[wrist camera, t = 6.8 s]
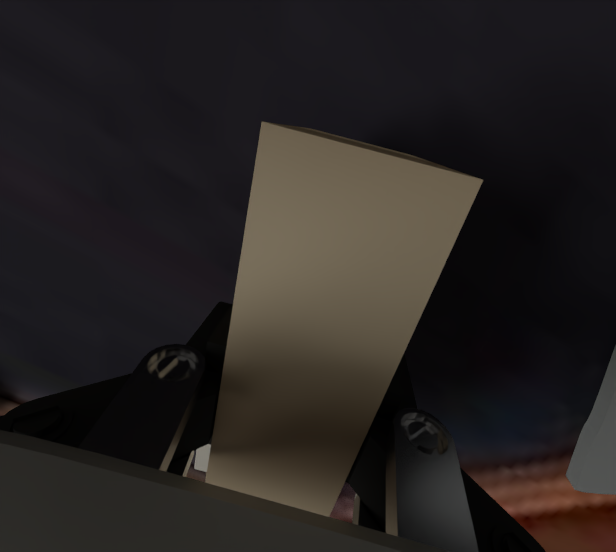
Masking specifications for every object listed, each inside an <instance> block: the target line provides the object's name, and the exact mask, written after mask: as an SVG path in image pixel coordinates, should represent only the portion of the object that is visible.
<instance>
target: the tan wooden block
mask: <svg viewBox="0 0 616 552" xmlns="http://www.w3.org/2000/svg"><path fill="white" fill-rule="evenodd" d="M482 182H483V180H482V179H479V178H476V177H473V176H471V175H468V174H465V173H462V172H459V171H456V170H453V169H450V168H447V167H445V166H442V165H439V164H436V163H433V162H430V161H427V160H424V159H421V158H418V157H416V156H413V155H409V154H406V153H402V152H398V151H394V150H390V149H387V148H383V147H379V146H375V145H371V144H368V143H364V142H360V141H356V140H352V139H349V138H345V137H341V136H337V135H333V134H330V133H326V132H322V131H318V130H314V129H310V128H303V127H296V126H289V125H282V124H275V123H268V122H262V124H261V130H260V137H259V143H258V150H257V156H256V162H255V169H254V175H253V181H252V188H251V194H250V200H249V207H248V213H247V219H246V226H245V232H244V239H243V245H242V251H241V258H240V264H239V270H238V277H237V283H236V289H235V296H234V302H233V308H232V315H231V321H230V327H229V334H228V340H227V347H226V353H225V359H224V366H223V372H222V378H221V385H220V391H219V397H218V404H217V410H216V416H215V423H214V429H213V436H212V442H211V448H210V455H209V461H208V467H207V474H206V480H205V483H209V484H212V485H216V486H220V487H223V488H227V489H230V490H234V491H238V492H241V493H245V494H248V495H252V496H256V497H259V498H263V499H266V500H270V501H274V502H277V503H281V504H284V505H288V506H291V507H295V508H299V509H302V510H306V511H309V512H313V513H316V514H320V515H324V516H327V517H329V515H330V513H331V511H332V509H333V507H334V505H335V502H336V500H337V498H338V496H339V494H340V491H341V489H342V487H343V485H344V483H345V481H346V478H347V476H348V474H349V472H350V470H351V467H352V465H353V463H354V461H355V459H356V457H357V454H358V452H359V450H360V448H361V446H362V443H363V441H364V439H365V437H366V435H367V433H368V430H369V428H370V426H371V424H372V422H373V419H374V417H375V415H376V413H377V411H378V409H379V406H380V404H381V402H382V400H383V398H384V396H385V393H386V391H387V389H388V387H389V385H390V382H391V380H392V378H393V376H394V374H395V372H396V369H397V367H398V365H399V363H400V361H401V358H402V356H403V354H404V352H405V350H406V348H407V345H408V343H409V341H410V339H411V337H412V334H413V332H414V330H415V328H416V326H417V324H418V321H419V319H420V317H421V315H422V313H423V310H424V308H425V306H426V304H427V302H428V300H429V297H430V295H431V293H432V291H433V289H434V286H435V284H436V282H437V280H438V278H439V276H440V273H441V271H442V269H443V267H444V265H445V263H446V260H447V258H448V256H449V254H450V252H451V249H452V247H453V245H454V243H455V241H456V239H457V236H458V234H459V232H460V230H461V228H462V225H463V223H464V221H465V219H466V217H467V215H468V212H469V210H470V208H471V206H472V204H473V201H474V199H475V197H476V195H477V193H478V191H479V188H480V186H481V184H482Z"/></svg>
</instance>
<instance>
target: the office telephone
mask: <svg viewBox="0 0 616 552" xmlns="http://www.w3.org/2000/svg"><path fill="white" fill-rule="evenodd" d="M566 476H567V478H568V480H569V481H570V483H571V484H572V486H573V488H574V489H575V490H578V491H581V492H588V493H598V494H616V345H615V348H614V351H613V354H612V357H611V359H610V362H609V365H608V368H607V371H606V374H605V376H604V379H603V382H602V385H601V388H600V391H599V393H598V396H597V399H596V401H595V404H594V407H593V409H592V412H591V414H590V416H589V418H588V420H587V422H586V423H585V425H584V427H583V429H582V431H581V434H580V436H579V439H578V442H577V445H576V447H575V450H574V453H573V456H572V459H571V461H570V464H569V467H568V470H567V473H566Z"/></svg>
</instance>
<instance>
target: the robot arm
mask: <svg viewBox="0 0 616 552" xmlns="http://www.w3.org/2000/svg"><path fill="white" fill-rule="evenodd" d="M232 308H233V304H228V303H224V302H219V303H218V304H217V305H216V306H215V308H214V309H213V310H212V312H211V313H210V314H209V316H208V317H207V318H206V319H205V321H204V322H203V323H202V325H201V326H200V327H199V328H198V330H197V331H196V332H195V334H194V335H193V336H192V338H191V339H190V340H189V341H188V343H187V344H186V345H181V344H171V345H164V346H161V347H158V348H156V349H154V350H152V351H150V352H149V353H148V354H147V355H146V356H145V357H144V358H143V359H142V360H141V362H140V363H139V364H138V366H137V367H136V369H135V370H134V371H133V373H132V374H128V375H124V376H120V377H117V378H113V379H109V380H105V381H102V382H98V383H94V384H90V385H87V386H83V387H79V388H75V389H72V390H68V391H64V392H60V393H57V394H53V395H49V396H45V397H42V398H38V399H35V400H32V401H29V402H26V403H23V404H21V405H20V406H18V407H16V408H14V409H12V410H11V411H9V412H8V413H7V414H5V415H3V416H0V552H545V550H544V549H543V548H542V546H541V545H540V544H539V543H538V542H537V541H536V540H535V539H534V538H533V537H532V536H531V535H530V534H529V533H528V532H527V531H526V530H525V529H524V528H523V527H522V526H521V525H520V524H519V523H518V522H517V521H516V520H515V519H514V518H512V517H511V516H510V515H509V514H508V513H507V512H506V511H505V510H504V509H503V508H502V507H501V506H500V505H499V504H498V503H497V502H496V501H495V500H494V499H493V498H492V497H490V496H489V495H488V494H487V493H486V492H485V491H484V490H483V489H482V488H481V487H480V486H479V485H478V484H477V483H476V482H475V481H474V480H473V479H472V478H471V477H470V476H468V475H467V474H466V473H465V472H464V471H463V470H462V469H461V468H460V466H459V462H458V457H457V453H456V448H455V444H454V441H453V439H452V436H451V434H450V433H449V431H448V430H447V428H446V427H445V426H444V425H443V424H442V423H441V422H440V421H439V420H438V419H437V418H435V417H434V416H432V415H431V414H429V413H427V412H425V411H423V410H420V409H417V406H416V402H415V397H414V393H413V389H412V385H411V381H410V376H409V372H408V368H407V364H406V360H405V355H404V354H403V356H402V358H401V361H400V363H399V365H398V367H397V369H396V372H395V374H394V376H393V378H392V380H391V382H390V385H389V387H388V389H387V391H386V393H385V396H384V398H383V400H382V402H381V404H380V406H379V409H378V411H377V413H376V415H375V417H374V419H373V422H372V424H371V426H370V428H369V430H368V433H367V435H366V437H365V439H364V441H363V443H362V446H361V448H360V450H359V452H358V454H357V457H356V459H355V461H354V463H353V465H352V467H351V470H350V472H349V474H348V476H347V478H346V481H345V482H347V483H349V484H350V486H351V487H352V488H353V490H354V491H355V492H356V496H355V500H354V510H353V521H352V523H348V522H345V521H341V520H338V519H334V518H331V517H327V516H324V515H320V514H316V513H313V512H309V511H306V510H302V509H299V508H295V507H291V506H288V505H284V504H281V503H277V502H274V501H270V500H266V499H263V498H259V497H256V496H252V495H248V494H245V493H241V492H238V491H234V490H230V489H227V488H223V487H220V486H216V485H212V484H209V483H205V482H201V481H198V480H194V479H190V478H187V477H186V475H187V472H188V469H189V466H190V464H191V461H192V458H193V456H194V450H196V449H198V448H201V447H203V446H205V445H207V444H210V445H211V442H212V436H213V429H214V423H215V416H216V410H217V404H218V397H219V391H220V385H221V378H222V372H223V366H224V359H225V353H226V347H227V340H228V334H229V327H230V321H231V315H232Z"/></svg>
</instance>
